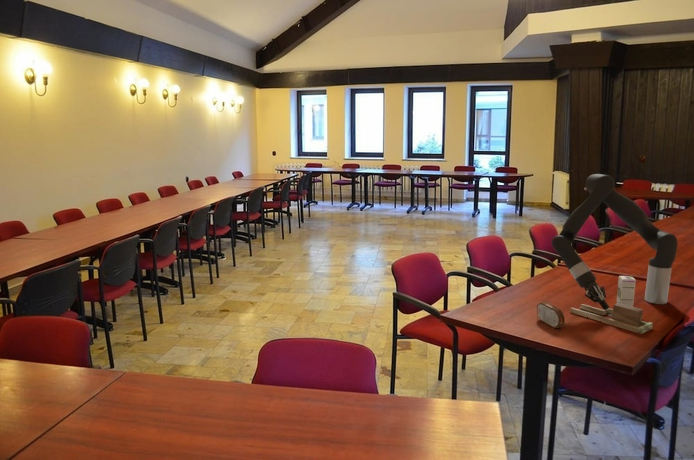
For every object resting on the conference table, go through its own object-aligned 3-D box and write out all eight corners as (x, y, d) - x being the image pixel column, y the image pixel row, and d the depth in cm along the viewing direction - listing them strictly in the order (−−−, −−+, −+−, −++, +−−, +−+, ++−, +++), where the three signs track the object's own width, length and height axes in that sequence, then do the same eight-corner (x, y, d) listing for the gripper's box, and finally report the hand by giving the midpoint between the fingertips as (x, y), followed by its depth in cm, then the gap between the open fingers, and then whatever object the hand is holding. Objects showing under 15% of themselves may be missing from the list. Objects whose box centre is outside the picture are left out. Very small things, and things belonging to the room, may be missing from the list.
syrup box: (633, 311, 235) (636, 279, 232) (618, 310, 236) (622, 278, 233) (629, 306, 240) (632, 276, 237) (615, 305, 242) (618, 275, 239)
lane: (586, 306, 241) (587, 300, 240) (657, 326, 217) (657, 320, 217) (570, 312, 233) (570, 307, 232) (641, 334, 209) (642, 328, 208)
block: (616, 320, 223) (618, 302, 222) (640, 328, 216) (643, 309, 214) (611, 322, 221) (613, 304, 219) (636, 330, 213) (638, 311, 212)
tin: (564, 330, 212) (566, 310, 210) (557, 331, 211) (559, 311, 210) (540, 317, 226) (542, 299, 225) (534, 318, 225) (536, 299, 224)
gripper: (580, 272, 224) (606, 308, 217) (596, 267, 232) (621, 301, 225) (568, 281, 230) (592, 316, 222) (584, 276, 237) (608, 310, 230)
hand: (607, 309), depth 224 cm, fingers closed
